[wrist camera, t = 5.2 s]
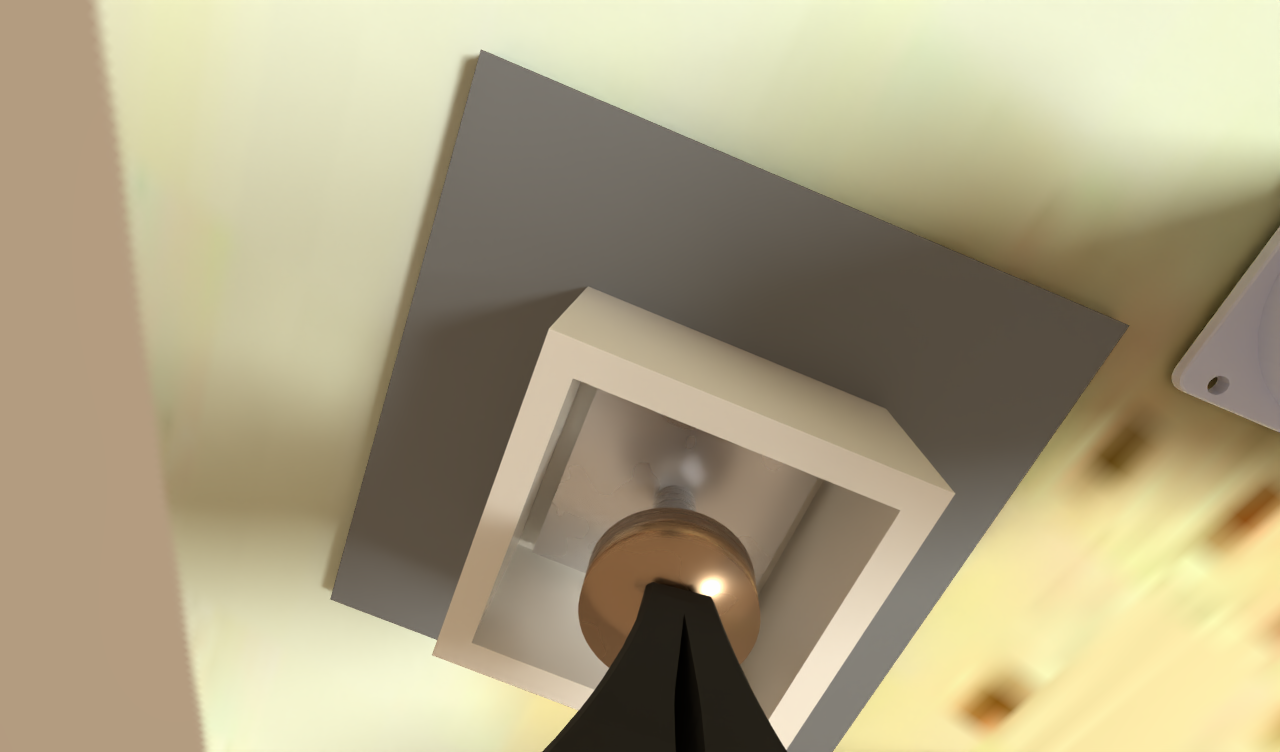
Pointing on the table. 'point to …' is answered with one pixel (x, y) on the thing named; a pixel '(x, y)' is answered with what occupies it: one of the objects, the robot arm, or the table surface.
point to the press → (735, 411)
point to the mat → (711, 304)
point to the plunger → (666, 520)
